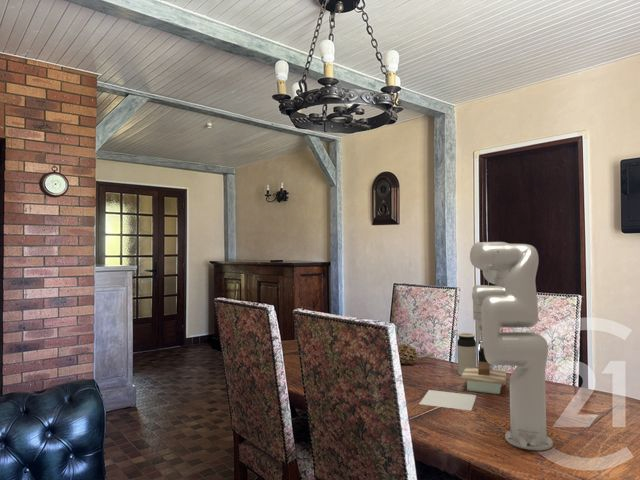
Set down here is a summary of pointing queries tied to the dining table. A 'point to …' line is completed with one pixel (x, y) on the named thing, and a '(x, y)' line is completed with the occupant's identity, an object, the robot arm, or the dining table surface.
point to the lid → (484, 374)
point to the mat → (448, 400)
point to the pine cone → (409, 354)
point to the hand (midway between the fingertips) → (484, 359)
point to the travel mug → (466, 352)
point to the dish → (483, 387)
